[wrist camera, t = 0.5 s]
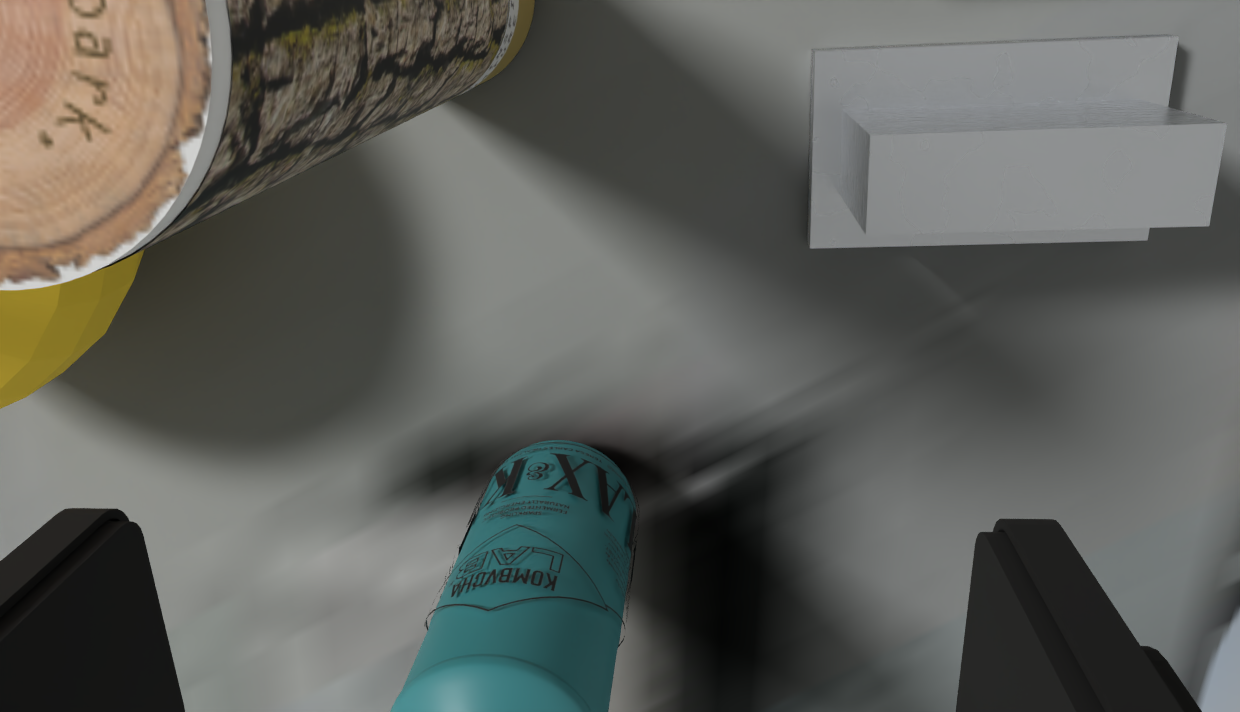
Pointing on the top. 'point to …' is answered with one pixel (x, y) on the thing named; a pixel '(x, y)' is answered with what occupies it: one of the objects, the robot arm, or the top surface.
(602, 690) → the beverage bottle
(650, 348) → the top surface
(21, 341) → the vase
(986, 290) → the top surface
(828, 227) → the fulcrum
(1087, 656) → the robot arm
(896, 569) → the top surface
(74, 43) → the brown bark cylinder
